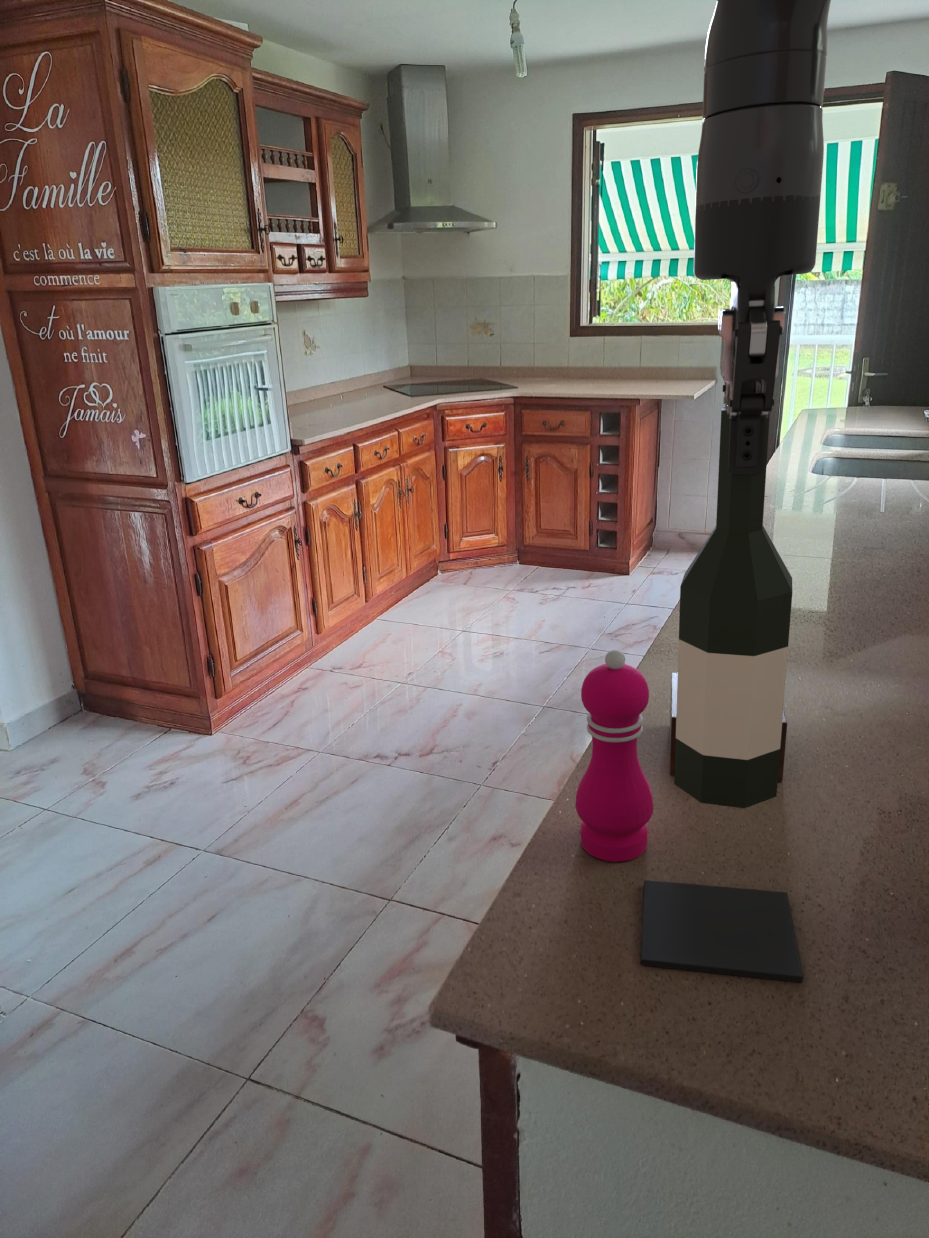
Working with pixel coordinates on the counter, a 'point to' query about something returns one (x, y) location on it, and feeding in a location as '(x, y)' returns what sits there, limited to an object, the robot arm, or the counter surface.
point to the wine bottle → (733, 649)
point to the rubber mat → (719, 931)
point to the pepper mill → (614, 763)
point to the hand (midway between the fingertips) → (742, 467)
